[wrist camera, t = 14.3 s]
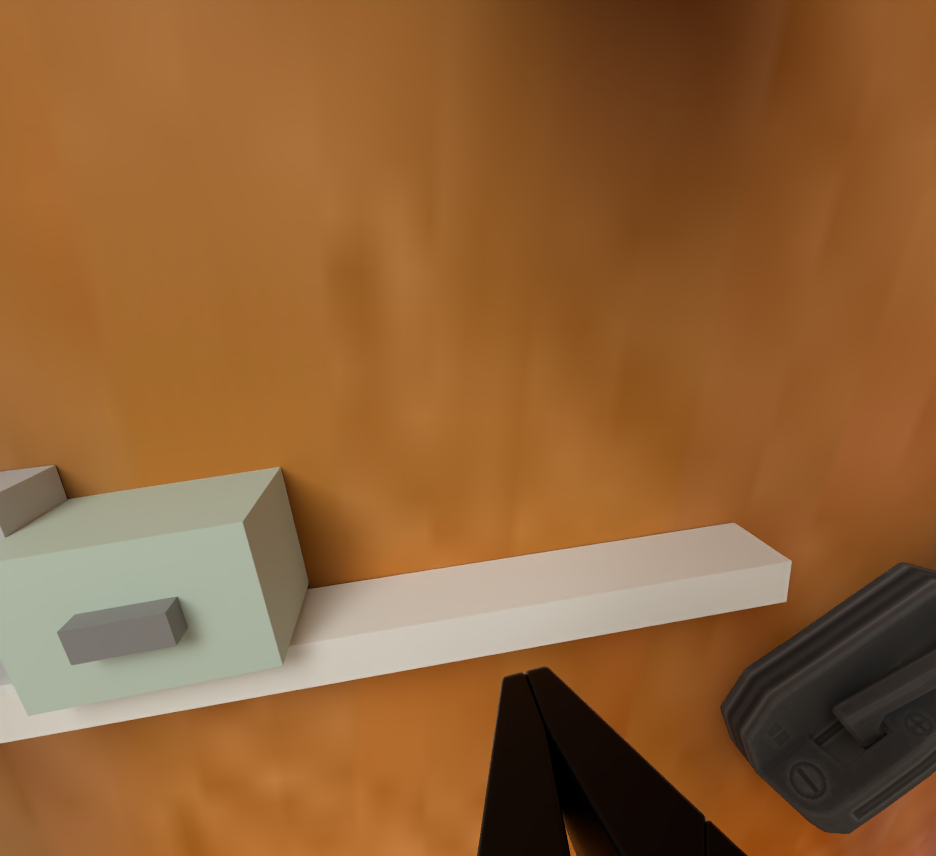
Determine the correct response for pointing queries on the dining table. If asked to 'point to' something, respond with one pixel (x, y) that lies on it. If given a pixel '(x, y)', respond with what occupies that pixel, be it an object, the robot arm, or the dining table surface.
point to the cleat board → (444, 610)
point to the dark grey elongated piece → (846, 704)
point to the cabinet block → (150, 590)
